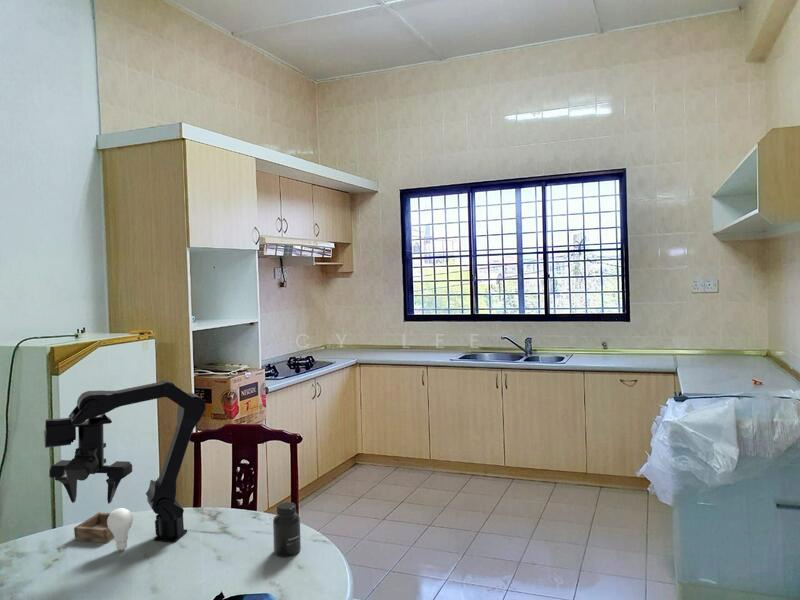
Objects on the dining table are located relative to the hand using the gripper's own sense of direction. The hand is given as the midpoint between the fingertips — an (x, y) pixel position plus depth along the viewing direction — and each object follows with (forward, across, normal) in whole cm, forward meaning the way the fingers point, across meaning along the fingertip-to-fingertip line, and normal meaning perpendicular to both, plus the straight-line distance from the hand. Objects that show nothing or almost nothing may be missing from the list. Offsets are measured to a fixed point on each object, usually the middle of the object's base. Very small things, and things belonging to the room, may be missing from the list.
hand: (91, 502), depth 158 cm
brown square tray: (+14, -4, +14) cm, 20 cm away
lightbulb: (+14, +6, +4) cm, 16 cm away
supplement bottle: (+12, +50, +1) cm, 51 cm away
